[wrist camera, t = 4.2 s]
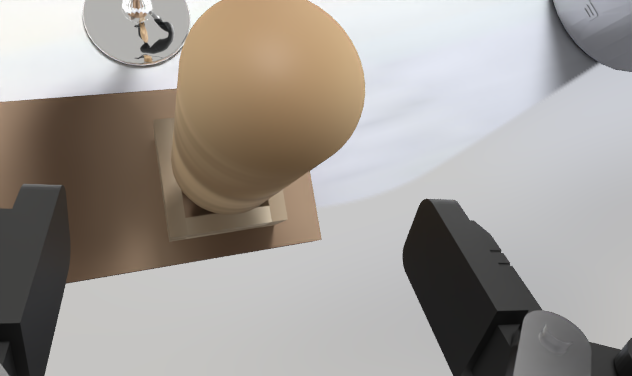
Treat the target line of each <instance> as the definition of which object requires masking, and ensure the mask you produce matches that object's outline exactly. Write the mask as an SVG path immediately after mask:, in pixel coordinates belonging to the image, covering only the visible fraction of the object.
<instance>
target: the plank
mask: <svg viewBox="0 0 632 376" xmlns="http://www.w3.org/2000/svg"><path fill="white" fill-rule="evenodd" d="M176 95H177V89H166V90H153V91H140V92H126V93H113V94H100V95H87V96H74V97H60V98H47V99H34V100H21V101H8V102H0V208H2V209H12V208H13V205H14V203H15V200H16V198H17V195H18V193H19V190H20V188H21V186H22V185H23V184H43V185H64V187H65V191H66V199H67V210H68V221H69V232H70V244H71V252H70V265H69V271H68V275H67V280H66V283H72V282H78V281H84V280H89V279H95V278H101V277H107V276H113V275H119V274H125V273H130V272H136V271H142V270H148V269H154V268H160V267H166V266H171V265H177V264H183V263H189V262H195V261H201V260H207V259H212V258H218V257H224V256H230V255H236V254H242V253H248V252H253V251H259V250H265V249H271V248H277V247H283V246H289V245H295V244H300V243H306V242H312V241H317V240H321V233H320V228H319V222H318V217H317V210H316V204H315V199H314V193H313V187H312V181H311V175H310V171H309V172H307V173H306V174H304V175H303V176H302V177H300V178H299V179H297V180H296V181H294V182H293V183H291V184H290V185H289V186H287V187H286V188H284V189H283V190H281V191H280V192H278V193H277V194H275V195H274V196H273V197H271V198H270V199H268V200H267V201H265V202H264V203H262V204H261V205H260V206H258V207H256V208H254V209H252V210H250V211H247V212H244V213H240V214H231V215H228V214H218V213H214V212H211V211H208V210H206V209H203V208H201V207H200V206H198V205H196V204H195V203H194V202H192V201H191V200H190V199H189V198H188V197H187V196H186V195H185V194H184V193H183V191H182V190H181V188H180V187H179V185H178V183H177V181H176V179H175V176H174V174H173V169H172V163H171V153H172V141H173V130H174V118H175V107H176Z"/></svg>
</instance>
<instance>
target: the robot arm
mask: <svg viewBox="0 0 632 376" xmlns="http://www.w3.org/2000/svg"><path fill="white" fill-rule="evenodd" d="M553 2H554V5H555V8H556V11H557V14H558V16H559V18H560V20H561V22H562V24H563V26H564V27H565V29H566V31H567V32H568V33H569V35H570V36H571V37H572V39H573V40H574V41H575V43H576V44H577V45H578V46H579V47H580V48H581V49H582V50H583V51H584V52H586V53H587V54H588V55H589V56H590V57H592V58H593V59H595V60H596V61H598V62H600V63H601V64H603V65H606V66H608V67H611V68H613V69H616V70H622V71H629V72H632V0H553ZM70 252H71V244H70V232H69V221H68V210H67V199H66V191H65V187H64V185H43V184H23V185H22V186H21V188H20V190H19V193H18V195H17V198H16V200H15V203H14V205H13V208H12V209H2V208H0V376H44V375H45V371H46V366H47V362H48V358H49V353H50V348H51V345H52V340H53V336H54V332H55V327H56V323H57V319H58V314H59V310H60V305H61V301H62V297H63V293H64V288H65V284H66V280H67V275H68V271H69V265H70ZM403 265H404V269H405V272H406V274H407V276H408V278H409V281H410V283H411V284H412V287H413V289H414V291H415V294H416V295H417V298H418V300H419V302H420V304H421V307H422V309H423V311H424V313H425V315H426V317H427V320H428V322H429V324H430V326H431V328H432V331H433V333H434V335H435V337H436V339H437V341H438V343H439V346H440V348H441V350H442V352H443V354H444V357H445V359H446V361H447V363H448V365H449V367H450V370H451V372H452V374H453V376H632V338H631V339H630V340H629V341H628V342H627V344H626V345H625V346H624V348H623V349H622V350H620V349H616V348H612V347H607V346H604V345H599V344H595V343H591V342H589V341H588V340H587V338H586V336H585V335H584V334H583V332H582V331H581V330H580V329H579V328H578V327H577V326H576V325H574V324H573V323H572V322H570V321H569V320H567V319H566V318H564V317H562V316H560V315H558V314H555V313H552V312H549V311H543V310H542V309H541V307H540V306H539V304H538V303H537V301H536V300H535V298H534V297H533V296H532V294H531V293H530V291H529V290H528V288H527V287H526V285H525V284H524V282H523V281H522V280H521V278H520V277H519V275H518V274H517V272H516V271H515V269H514V268H513V267H512V266H510V262H509V261H508V260H507V258H506V257H505V255H504V254H503V253H501V249H500V248H499V246H498V245H497V243H496V242H495V240H494V239H493V238H492V236H491V235H490V234H489V233H488V232H487V231H486V230H484V229H483V228H482V227H481V226H480V225H478V224H477V223H476V222H475V221H470V220H469V218H468V217H467V215H466V214H465V212H464V211H463V209H462V208H461V206H460V205H459V204H458V202H457V201H455V200H441V199H424V200H423V201H422V202H421V203H420V205H419V208H418V210H417V213H416V215H415V218H414V221H413V224H412V226H411V229H410V231H409V234H408V237H407V239H406V242H405V245H404V248H403Z"/></svg>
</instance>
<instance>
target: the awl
mask: <svg viewBox="0 0 632 376" xmlns="http://www.w3.org/2000/svg"><path fill="white" fill-rule="evenodd" d="M364 98H365V81H364V73H363V69H362V65H361V61H360V58H359V56H358V53H357V51H356V49H355V47H354V45H353V43H352V41H351V39H350V38H349V36H348V35H347V34H346V32H345V31H344V29H343V28H342V27H341V26H340V25H339V24H338V23H337V21H336V20H334V19H333V18H332V17H331V16H330V15H329V14H328V13H327V12H325V11H324V10H322V9H321V8H320V7H318V6H317V5H315V4H313V3H311V2H310V1H308V0H222V1H220V2H218V3H216V4H215V5H213V6H212V7H211V8H209V9H208V10H207V11H206V12H205V13H204V14H203V15H202V16H201V17H200V18H199V19H198V20H197V21H196V23H195V24H194V25H193V27H192V28H191V30H190V32H189V34H188V35H187V37H186V40H185V42H184V45H183V48H182V51H181V56H180V61H179V72H178V84H177V95H176V107H175V118H174V130H173V141H172V153H171V163H172V169H173V174H174V176H175V179H176V181H177V183H178V185H179V187H180V188H181V190H182V191H183V193H184V194H185V195H186V196H187V197H188V198H189V199H190V200H191V201H192V202H194V203H195V204H196V205H198V206H200V207H201V208H203V209H206V210H208V211H211V212H214V213H218V214H228V215H231V214H240V213H244V212H247V211H250V210H252V209H254V208H256V207H258V206H260V205H261V204H262V203H264V202H265V201H267V200H268V199H270V198H271V197H273V196H274V195H275V194H277V193H278V192H280V191H281V190H283V189H284V188H286V187H287V186H289V185H290V184H291V183H293V182H294V181H296V180H297V179H299V178H300V177H302V176H303V175H304V174H306V173H307V172H309V171H310V170H312V169H313V168H315V167H316V166H318V165H319V164H320V163H322V162H323V161H325V160H326V159H328V158H329V157H331V156H332V155H333V154H335V153H336V152H337V151H338V150H339V149H340V148H341V147H342V146H343V145H344V144H345V143H346V142H347V140H348V139H349V138H350V137H351V135H352V133H353V132H354V130H355V128H356V126H357V124H358V122H359V119H360V117H361V113H362V110H363V106H364Z"/></svg>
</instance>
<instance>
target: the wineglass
mask: <svg viewBox="0 0 632 376" xmlns="http://www.w3.org/2000/svg"><path fill="white" fill-rule="evenodd" d="M83 21H84V26H85V29H86V31H87V33H88V35H89V37H90V39H91V40H92V41H93V43H94V44H95V45H96V46H97V47H98V48H99V49H100V50H101V51H102V52H103V53H105V54H106V55H107V56H109V57H111V58H113V59H114V60H117V61H119V62H122V63H125V64H130V65H139V66H144V65H152V64H157V63H160V62H162V61H165V60H167V59H168V58H170V57H171V56H173V55H174V54H176V53H177V52H178V51H179V50H180V48H181V47H182V46H183V45H184V42H185V40H186V37H187V35H188V34H189V30H190V12H189V8H188V5H187V3H186V0H84V4H83Z"/></svg>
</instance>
